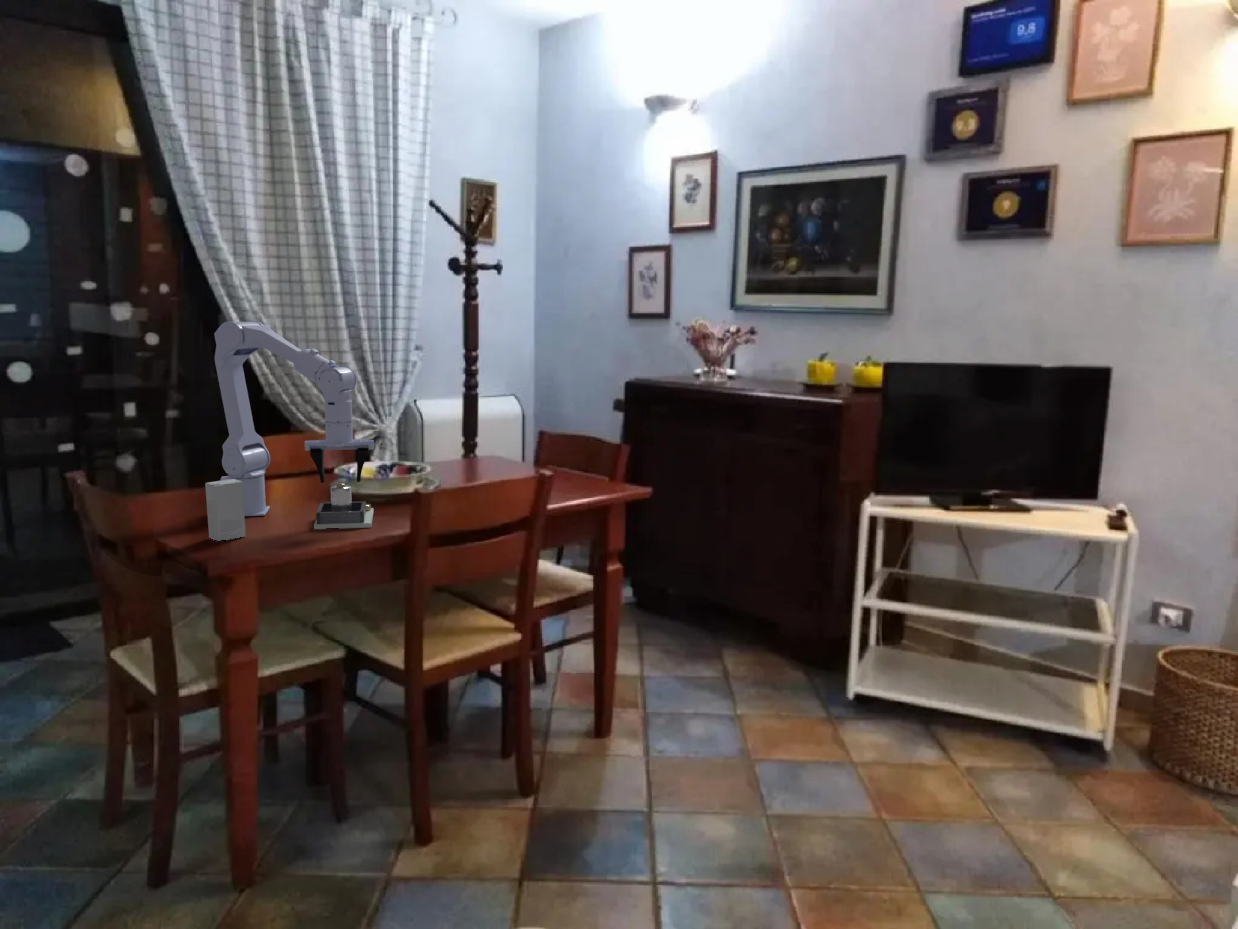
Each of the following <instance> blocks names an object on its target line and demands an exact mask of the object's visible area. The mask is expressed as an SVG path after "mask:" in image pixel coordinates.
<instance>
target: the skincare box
mask: <svg viewBox="0 0 1238 929" xmlns="http://www.w3.org/2000/svg"><path fill="white" fill-rule="evenodd" d="M204 487H205V496H206V497H205V498H206V499H205V500H206V511H207V512H206V513H207V514H206V515H207V525H208V538H209V539H210V538H211V539H210V540H212V539H213V540H212V541H214V540H217V541H221V540H226V541H230V539H231V540H235V538H236V539H239V538H240V537H241V538H245V537H246V534H247V533H246V524H245V523H246V522H245V519H246V518H245V516H244V502H243V489H242V481H239V480H235V479H229V480H222V481H220V480H216V481H211V482H210V481H209V482H205V485H204ZM217 541H216V542H217ZM221 542H222V541H221Z"/></svg>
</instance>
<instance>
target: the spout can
mask: <svg viewBox="0 0 1238 929" xmlns="http://www.w3.org/2000/svg"><path fill="white" fill-rule="evenodd" d="M352 499H353V498H352V486H351V485H346V483H345V482H338V483H336V485H333V486H331V487H330V502H331V509H332V512H343V511H352V502H353V500H352Z"/></svg>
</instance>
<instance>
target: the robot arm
mask: <svg viewBox="0 0 1238 929" xmlns="http://www.w3.org/2000/svg"><path fill="white" fill-rule="evenodd" d="M213 335H214V340H215V344H216V347H215V352H214V363H215V369H216V373H217V380H218V383H219V384H218V385H219V390H220V395H221V400H222V404H223V409H224V415H225V421H226V425H227V429H228V430H227V431H228V434H229V435H228V437H227V439H226V440H225V441H224V443H223V444H222V458H221V465H222V468H223V470H224V472H225V473H226V474H227V475H225V476H222V475H221V478H220V480H219V481H222V480H229V479H235V480H239V481H242V489H243V502H244V517H260V516H261V517H262V516H263V517H264V516H266V514H268V511H269V510H270V507H271V506H270V505H266V487H265V483H266V482H265V473H266V469H267V468H268V467H269V466H270V463H271V455H270V452H269V450H268V448H267V447H266V445H265V441H264V438H263V437H262V436H261V435H260V434H258V433H257V432H256V429H255V425H254V420H253V415H252V414H253V413H252V410H251V409H252V408H251V404H250V398H249V392H248V387H247V383H246V378H245V372H244V367H243V364H244V363H245V362H246V360H247V359H248V358H249V357H250V356H251V355H253V354H254V353H256V352H257V351H259V350H260V349H263V348H264V349H266V350H267V351H269V352H271V353H272V354H275V355H276V356H278V357H281V358H283V359H285V360H286V361H288V362H290V363H292V364H293V368H294V371H296V372H297V373H299V374H301V375H302V376H304V377H306V378H307V379H308V380H311V381H313V382H314V383H316V384H317V385H318V387H319V389H320V390H321V392H322V398H323V400H324V419H325V420H324V422H325V424H324V425H325V439H318V440H315V439H314V440H313V439H312V440H305V441H304V451H306V452H307V451H309V455H310V458H311V459H312V462H313V463H314V465H315V467H316V469H317V474H318V476H319V479H320V483H322V484H323V483H325V481H326V478H325V477H326V475H325V468H324V467H325V466H324V464H325V463H324V461H325V460H324V457H325V456H324V454H325V451H326V450H327V451H328V450H329V451H332V450H333V451H334V450H335V451H337V450H338V451H339V450H340V451H341V450H342V451H343V450H356V469H357V470H356V483H360V482H361V479H362V471H363V468H364V464H365V462H366V459H367V457H368V454H369V452H370V450H371V451H373V450H375V445H374V442H375V441H374V440H375V439H354V435H353V434H354V430H353V427H354V426H353V401H352V400H353V397H352V395H353V394H352V392H353V391H352V390H353V389H354V388H355V387H356V385H357V377H356V374H355V372H354V370H353V369H351V367H350V366H348V365H340V366H338V365H337V362H336V361H335V360H330V359H327V358H326V357H324V356H322V355H321V354H319V353H320V352H319V350H317V349H316V348H312V349H311V348H304V349H301V348H299V347H297V346H295V345H294V344H293V343H291V342H290V341H288V340H287V339H285V338H284V337H282V336H281V335H279V334H278V333H276V332H275V331H274V330H272V329H271V327H270V326H268V325H265V324H263V323H262V322H260V321H257V320H251V321H225V322H223V323H221V325H220V326H219V327H218V328H217V330H216V331H215V332H214V334H213Z"/></svg>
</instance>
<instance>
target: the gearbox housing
mask: <svg viewBox="0 0 1238 929" xmlns="http://www.w3.org/2000/svg"><path fill="white" fill-rule="evenodd" d="M315 515H316V518H315V522H314V523H313V530H327V529H326V528H339V529H358V528H359V529H360V528H363V529H364V528H372V524H373V518H374V507H372V504H370V503H367V501H352V511H343V512H332V509H331V501H329V502H328V501H327V502H320V503H319V505H318V508H317V510H316V512H315Z"/></svg>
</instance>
